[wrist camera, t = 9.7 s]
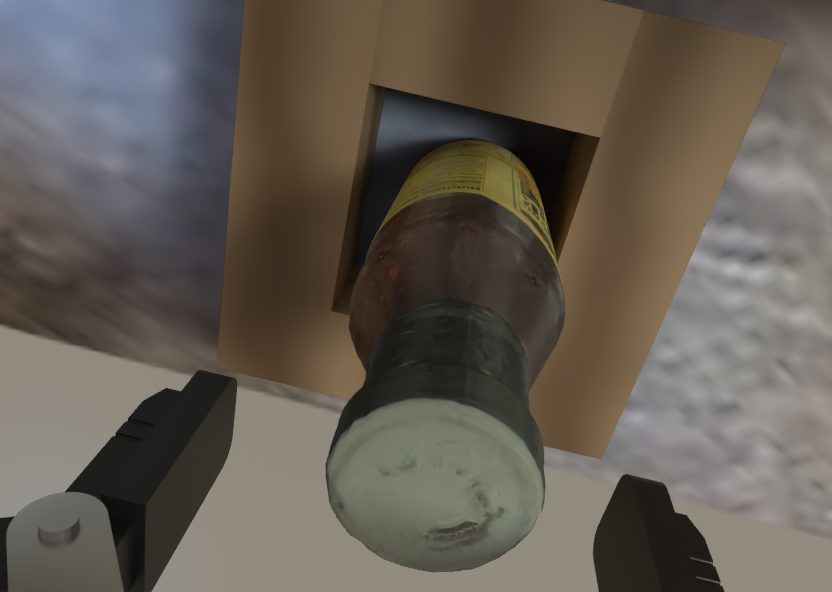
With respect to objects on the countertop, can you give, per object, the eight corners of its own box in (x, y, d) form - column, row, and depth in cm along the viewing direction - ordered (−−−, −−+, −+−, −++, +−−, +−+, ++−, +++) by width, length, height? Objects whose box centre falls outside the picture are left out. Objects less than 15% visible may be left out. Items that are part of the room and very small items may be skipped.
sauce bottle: (527, 267, 30) (575, 660, 13) (399, 254, 31) (271, 615, 13) (550, 130, 28) (651, 390, 10) (407, 117, 28) (258, 344, 10)
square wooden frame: (733, 33, 25) (785, 43, 21) (586, 396, 33) (601, 459, 29) (293, -70, 25) (250, -82, 21) (253, 316, 33) (216, 367, 29)
